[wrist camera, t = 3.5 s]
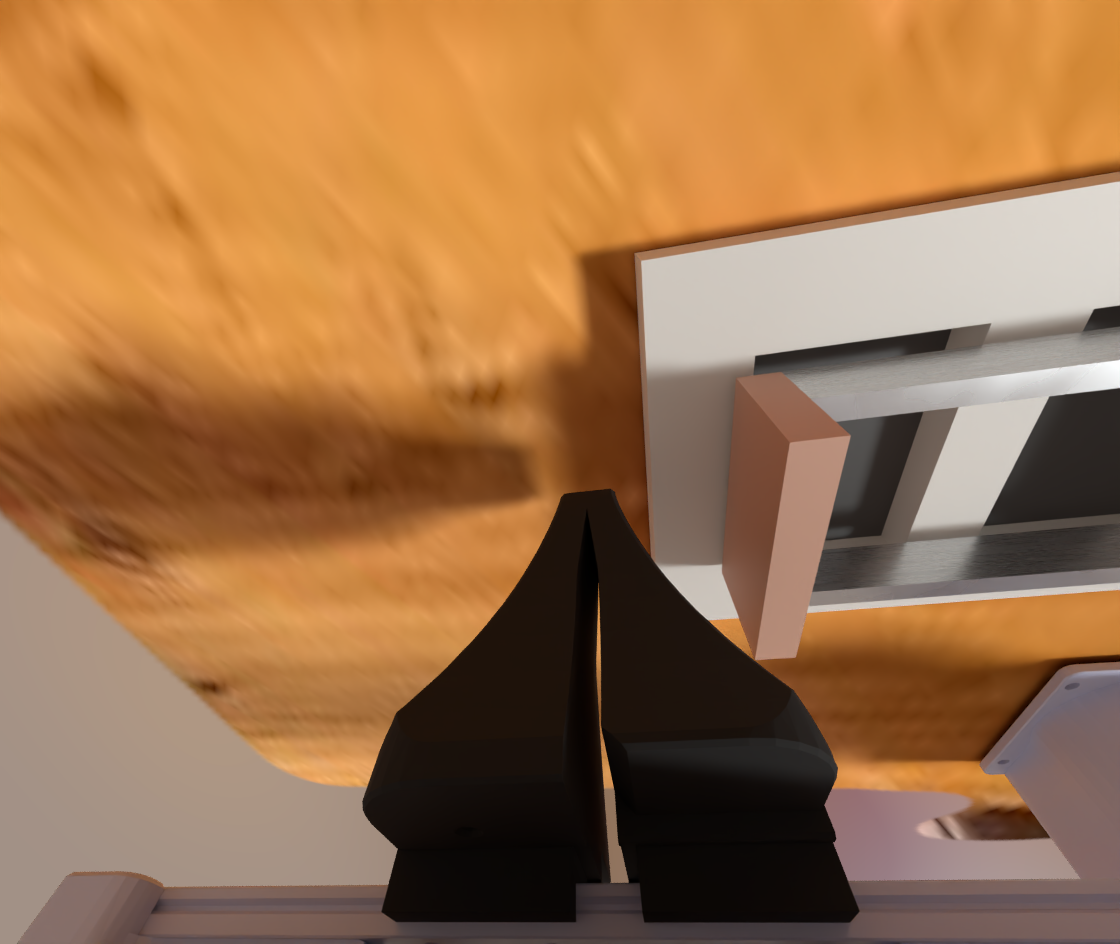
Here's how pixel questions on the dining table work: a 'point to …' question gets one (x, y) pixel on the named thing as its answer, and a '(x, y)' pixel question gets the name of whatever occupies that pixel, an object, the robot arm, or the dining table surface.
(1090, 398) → the track deck
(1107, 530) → the steel sled
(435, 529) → the dining table surface
